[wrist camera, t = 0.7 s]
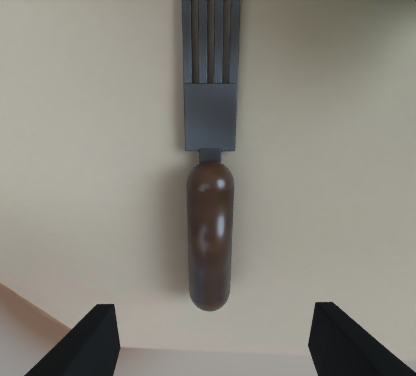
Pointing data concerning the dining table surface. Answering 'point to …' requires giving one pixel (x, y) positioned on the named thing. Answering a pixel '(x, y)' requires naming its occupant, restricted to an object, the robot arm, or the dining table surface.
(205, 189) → the fork
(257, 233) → the dining table surface
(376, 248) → the dining table surface
